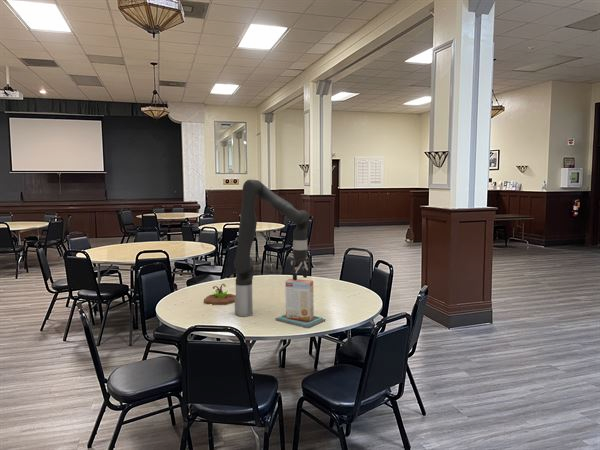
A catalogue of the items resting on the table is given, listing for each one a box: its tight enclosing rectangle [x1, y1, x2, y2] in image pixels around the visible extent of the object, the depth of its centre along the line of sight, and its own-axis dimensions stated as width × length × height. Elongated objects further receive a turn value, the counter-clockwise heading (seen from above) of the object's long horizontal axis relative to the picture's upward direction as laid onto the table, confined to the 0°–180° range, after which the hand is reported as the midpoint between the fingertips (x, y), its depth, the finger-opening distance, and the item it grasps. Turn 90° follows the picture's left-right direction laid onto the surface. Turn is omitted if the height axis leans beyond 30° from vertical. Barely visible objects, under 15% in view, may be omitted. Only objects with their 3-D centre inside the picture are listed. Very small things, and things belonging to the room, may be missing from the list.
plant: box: [203, 283, 236, 306], centre depth 271 cm, size 20×20×11 cm
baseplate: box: [275, 313, 326, 329], centre depth 231 cm, size 22×15×2 cm
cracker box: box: [285, 278, 315, 321], centre depth 230 cm, size 14×6×21 cm, turn 67°
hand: (300, 278), depth 229 cm, fingers open, 8 cm apart
